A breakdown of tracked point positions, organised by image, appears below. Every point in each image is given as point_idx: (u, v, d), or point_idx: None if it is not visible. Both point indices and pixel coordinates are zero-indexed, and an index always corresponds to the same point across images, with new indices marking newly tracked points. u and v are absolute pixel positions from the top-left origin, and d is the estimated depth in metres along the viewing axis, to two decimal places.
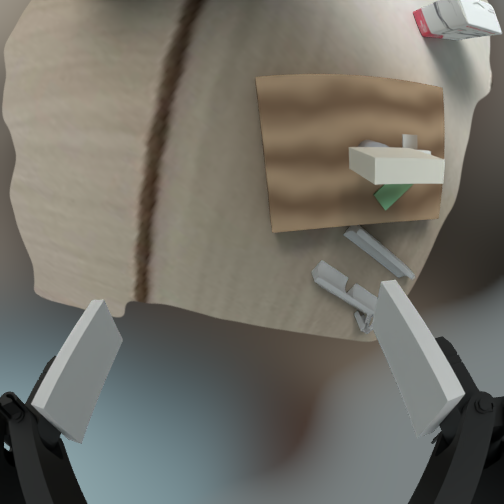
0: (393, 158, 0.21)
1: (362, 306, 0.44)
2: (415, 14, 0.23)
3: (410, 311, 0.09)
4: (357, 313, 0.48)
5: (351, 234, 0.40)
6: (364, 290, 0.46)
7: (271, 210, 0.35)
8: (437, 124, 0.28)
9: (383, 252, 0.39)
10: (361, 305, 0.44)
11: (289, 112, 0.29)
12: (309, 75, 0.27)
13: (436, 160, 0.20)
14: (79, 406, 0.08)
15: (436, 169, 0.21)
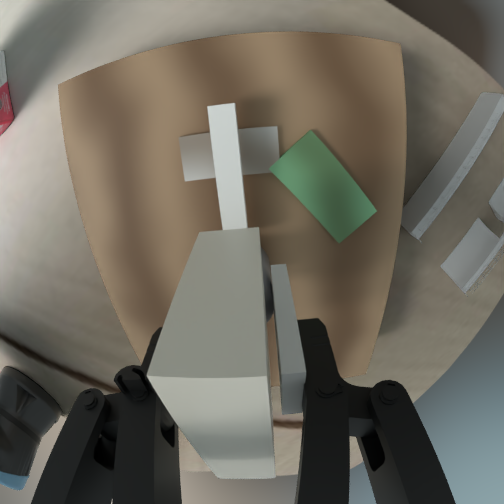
0: (210, 466, 0.08)
1: None
2: None
3: (284, 291, 0.12)
4: None
5: None
6: (501, 185, 0.17)
7: None
8: (139, 75, 0.11)
9: (461, 175, 0.15)
10: None
11: None
12: (131, 341, 0.20)
13: (167, 404, 0.05)
14: None
15: (203, 403, 0.05)
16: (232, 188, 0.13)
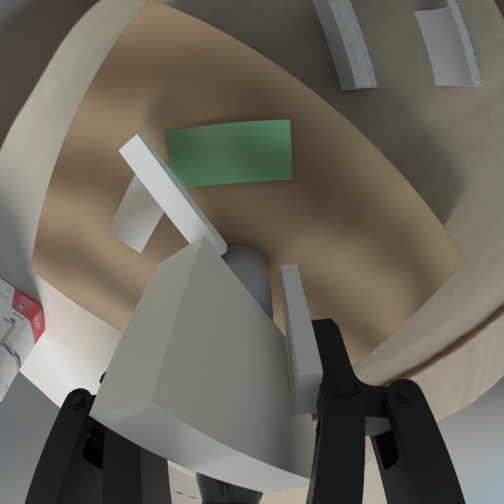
0: (240, 484, 0.07)
1: None
2: (42, 331, 0.24)
3: (296, 291, 0.11)
4: None
5: None
6: None
7: (438, 287, 0.17)
8: (55, 220, 0.14)
9: None
10: None
11: None
12: None
13: (126, 437, 0.05)
14: None
15: (144, 433, 0.05)
16: (179, 208, 0.12)
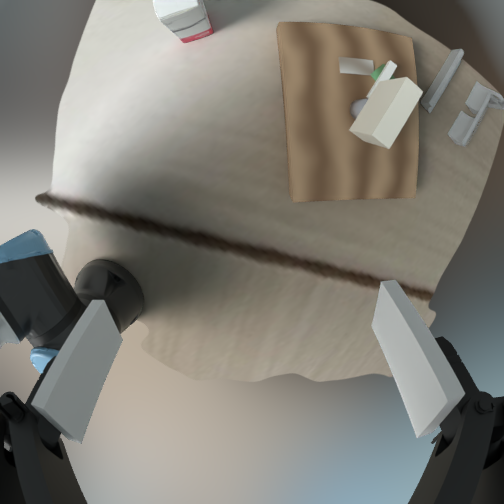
0: (381, 120, 0.23)
1: (484, 103, 0.30)
2: (187, 41, 0.30)
3: (410, 311, 0.09)
4: (488, 104, 0.31)
5: (430, 107, 0.33)
6: (471, 96, 0.31)
7: (399, 197, 0.38)
8: (322, 31, 0.27)
9: (445, 81, 0.29)
10: (484, 104, 0.30)
11: (325, 177, 0.37)
12: (292, 158, 0.35)
13: (403, 85, 0.20)
14: (79, 406, 0.08)
15: (410, 89, 0.21)
16: None
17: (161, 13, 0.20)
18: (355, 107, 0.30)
